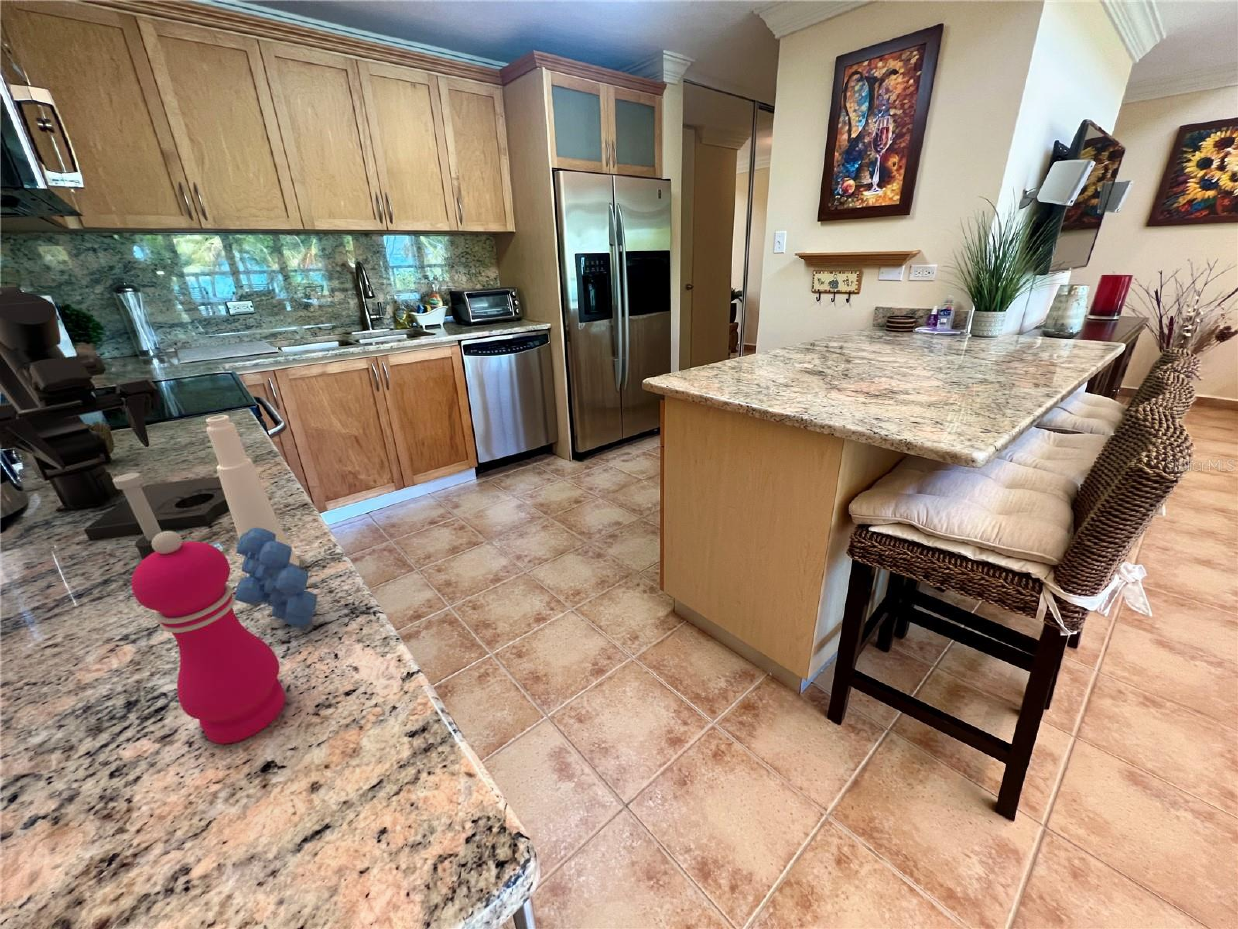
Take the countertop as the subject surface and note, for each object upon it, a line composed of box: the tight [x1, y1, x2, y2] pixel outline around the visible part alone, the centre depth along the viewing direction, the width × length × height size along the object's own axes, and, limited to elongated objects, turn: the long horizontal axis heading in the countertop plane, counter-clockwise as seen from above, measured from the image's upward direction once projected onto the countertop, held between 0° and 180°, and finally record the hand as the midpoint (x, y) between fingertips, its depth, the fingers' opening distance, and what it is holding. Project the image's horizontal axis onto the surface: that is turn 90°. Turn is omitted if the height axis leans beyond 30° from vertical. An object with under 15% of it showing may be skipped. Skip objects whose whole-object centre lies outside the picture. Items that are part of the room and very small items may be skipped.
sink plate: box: [83, 476, 230, 541], centre depth 84 cm, size 17×16×2 cm
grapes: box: [234, 528, 318, 629], centre depth 55 cm, size 12×7×12 cm, turn 58°
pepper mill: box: [130, 531, 286, 744], centre depth 42 cm, size 7×7×20 cm
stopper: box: [113, 472, 176, 560], centre depth 70 cm, size 4×4×12 cm
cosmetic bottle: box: [205, 414, 300, 577], centre depth 63 cm, size 6×6×22 cm
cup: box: [85, 422, 115, 466], centre depth 102 cm, size 8×7×8 cm
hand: (107, 456), depth 71 cm, fingers open, 9 cm apart
